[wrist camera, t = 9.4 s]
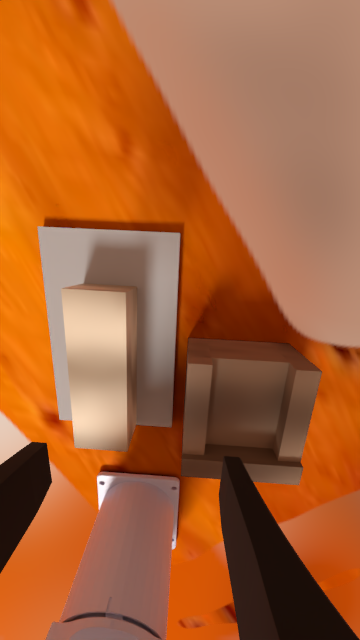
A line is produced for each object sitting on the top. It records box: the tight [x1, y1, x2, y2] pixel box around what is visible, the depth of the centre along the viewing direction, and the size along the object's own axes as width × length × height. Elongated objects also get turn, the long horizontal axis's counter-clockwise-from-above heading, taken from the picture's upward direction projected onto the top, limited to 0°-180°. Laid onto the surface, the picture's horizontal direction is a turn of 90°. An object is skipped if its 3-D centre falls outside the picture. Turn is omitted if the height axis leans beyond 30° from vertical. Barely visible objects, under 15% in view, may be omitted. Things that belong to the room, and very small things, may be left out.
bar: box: [61, 283, 137, 452], centre depth 17 cm, size 12×4×3 cm, turn 177°
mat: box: [38, 227, 180, 427], centre depth 18 cm, size 16×10×1 cm, turn 177°
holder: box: [181, 338, 322, 485], centre depth 17 cm, size 8×8×5 cm
